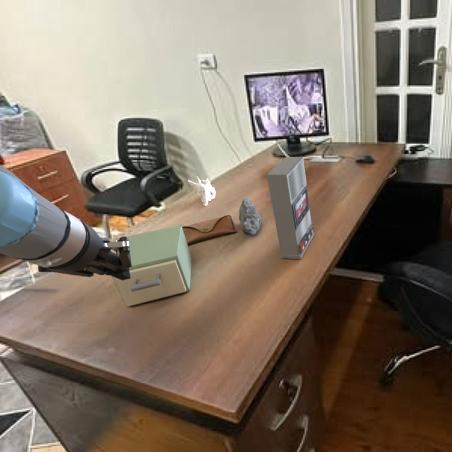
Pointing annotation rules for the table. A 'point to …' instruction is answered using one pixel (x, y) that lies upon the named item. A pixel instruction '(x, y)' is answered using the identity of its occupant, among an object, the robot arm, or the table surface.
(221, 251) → the table surface
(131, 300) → the drawer
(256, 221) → the mineral rock
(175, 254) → the cabinet
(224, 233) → the sunglasses case
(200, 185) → the white figurine
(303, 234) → the cassette tape recorder
